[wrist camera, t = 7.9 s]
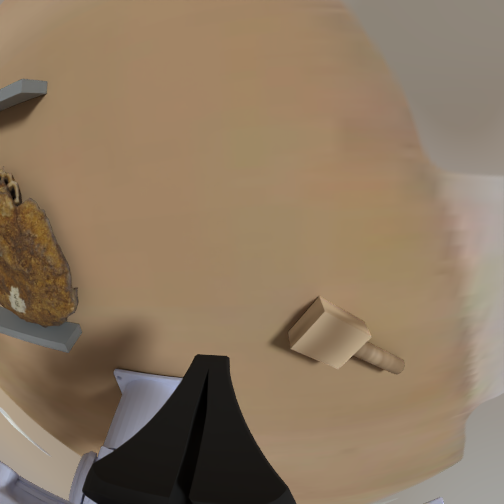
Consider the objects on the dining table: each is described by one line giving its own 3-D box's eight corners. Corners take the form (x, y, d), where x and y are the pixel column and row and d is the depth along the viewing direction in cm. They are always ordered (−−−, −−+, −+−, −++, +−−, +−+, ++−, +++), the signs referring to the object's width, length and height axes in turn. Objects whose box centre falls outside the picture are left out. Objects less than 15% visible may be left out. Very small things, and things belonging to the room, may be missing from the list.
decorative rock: (-26, 199, 18) (39, 318, 24) (-52, 214, 14) (20, 342, 20) (25, 138, 15) (105, 296, 22) (-11, 149, 12) (83, 327, 18)
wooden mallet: (409, 347, 23) (417, 360, 22) (381, 374, 25) (387, 388, 23) (319, 296, 21) (324, 311, 19) (288, 332, 22) (290, 348, 20)
